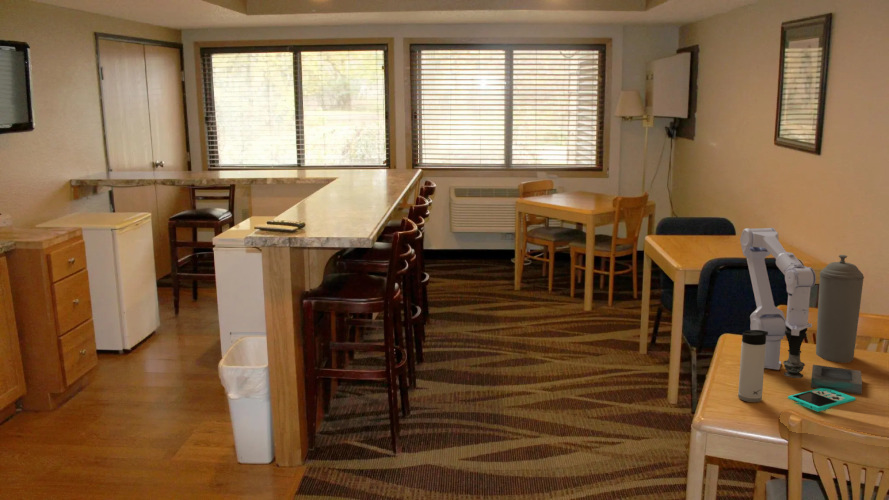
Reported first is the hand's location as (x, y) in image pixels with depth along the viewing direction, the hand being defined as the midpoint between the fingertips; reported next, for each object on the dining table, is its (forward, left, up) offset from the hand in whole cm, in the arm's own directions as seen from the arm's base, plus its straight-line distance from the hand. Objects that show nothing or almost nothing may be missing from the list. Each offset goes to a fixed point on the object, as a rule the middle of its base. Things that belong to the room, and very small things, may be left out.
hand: (794, 352), depth 214 cm
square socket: (+12, +7, -10) cm, 17 cm away
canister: (+11, +32, -10) cm, 35 cm away
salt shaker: (0, 0, -7) cm, 7 cm away
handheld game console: (+8, -9, -11) cm, 16 cm away
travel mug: (-10, -17, -10) cm, 22 cm away
